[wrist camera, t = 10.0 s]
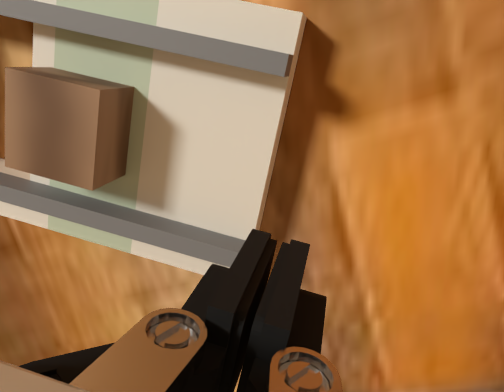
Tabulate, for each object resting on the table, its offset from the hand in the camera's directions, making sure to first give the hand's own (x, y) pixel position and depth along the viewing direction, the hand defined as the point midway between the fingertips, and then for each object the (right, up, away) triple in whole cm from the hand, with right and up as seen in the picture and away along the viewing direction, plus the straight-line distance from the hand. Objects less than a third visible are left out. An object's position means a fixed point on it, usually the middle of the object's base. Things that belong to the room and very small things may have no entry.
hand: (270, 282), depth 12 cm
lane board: (-12, +8, +19) cm, 24 cm away
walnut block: (-12, +7, +16) cm, 21 cm away
